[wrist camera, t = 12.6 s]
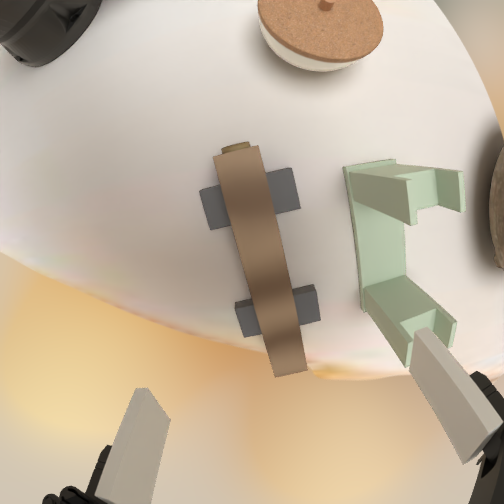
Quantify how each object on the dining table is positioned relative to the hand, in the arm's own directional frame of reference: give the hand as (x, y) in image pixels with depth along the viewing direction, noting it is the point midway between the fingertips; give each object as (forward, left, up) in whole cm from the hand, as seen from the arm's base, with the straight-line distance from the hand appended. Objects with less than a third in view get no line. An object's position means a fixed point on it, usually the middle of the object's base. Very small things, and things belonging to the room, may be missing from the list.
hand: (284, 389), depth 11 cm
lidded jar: (-22, +10, -19) cm, 31 cm away
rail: (0, 0, -17) cm, 17 cm away
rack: (+1, +13, -19) cm, 23 cm away
